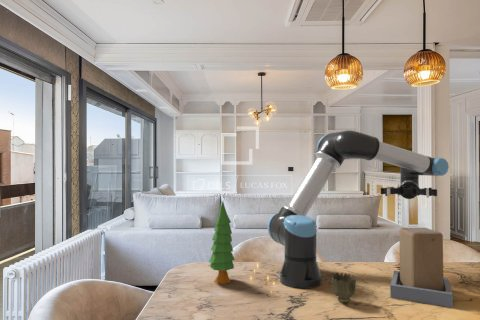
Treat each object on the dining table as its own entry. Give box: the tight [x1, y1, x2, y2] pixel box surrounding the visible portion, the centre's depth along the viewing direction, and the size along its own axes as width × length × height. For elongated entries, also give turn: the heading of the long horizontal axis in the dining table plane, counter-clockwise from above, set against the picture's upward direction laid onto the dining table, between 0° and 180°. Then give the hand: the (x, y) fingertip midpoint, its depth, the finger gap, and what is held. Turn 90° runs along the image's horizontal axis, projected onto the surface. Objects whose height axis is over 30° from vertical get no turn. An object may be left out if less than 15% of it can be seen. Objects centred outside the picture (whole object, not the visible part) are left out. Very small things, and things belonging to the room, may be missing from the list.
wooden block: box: [398, 227, 444, 292], centre depth 112 cm, size 10×10×20 cm
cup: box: [331, 272, 357, 305], centre depth 105 cm, size 8×7×8 cm
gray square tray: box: [389, 270, 454, 309], centre depth 112 cm, size 17×17×4 cm
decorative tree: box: [208, 201, 235, 285], centre depth 125 cm, size 10×9×30 cm
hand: (407, 193), depth 128 cm, fingers open, 13 cm apart
